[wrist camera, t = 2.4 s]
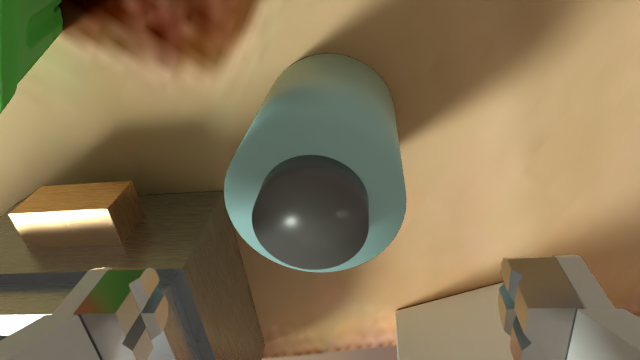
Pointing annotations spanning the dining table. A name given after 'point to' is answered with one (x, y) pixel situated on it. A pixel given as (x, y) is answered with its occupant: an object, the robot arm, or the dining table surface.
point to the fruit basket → (24, 39)
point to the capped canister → (320, 168)
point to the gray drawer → (132, 262)
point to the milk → (454, 328)
